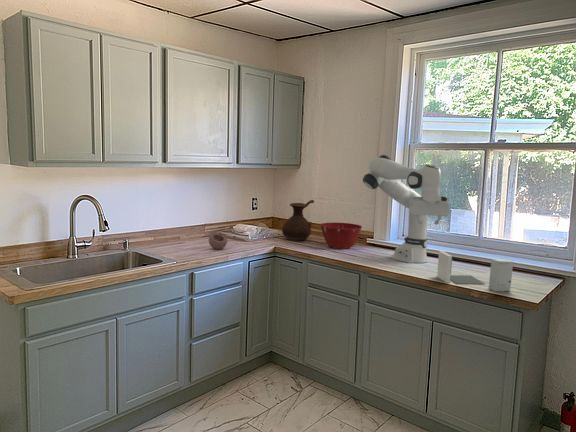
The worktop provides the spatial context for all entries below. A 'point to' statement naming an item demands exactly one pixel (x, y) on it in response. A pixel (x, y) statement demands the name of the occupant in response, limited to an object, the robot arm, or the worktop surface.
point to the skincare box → (500, 274)
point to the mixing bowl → (340, 234)
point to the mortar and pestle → (217, 240)
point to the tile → (444, 266)
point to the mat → (465, 279)
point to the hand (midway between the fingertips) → (428, 224)
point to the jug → (297, 223)
